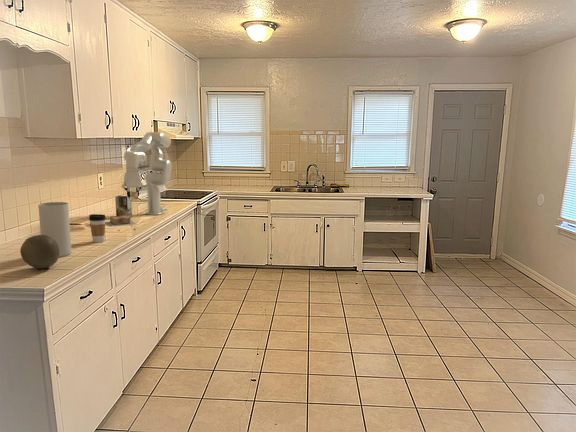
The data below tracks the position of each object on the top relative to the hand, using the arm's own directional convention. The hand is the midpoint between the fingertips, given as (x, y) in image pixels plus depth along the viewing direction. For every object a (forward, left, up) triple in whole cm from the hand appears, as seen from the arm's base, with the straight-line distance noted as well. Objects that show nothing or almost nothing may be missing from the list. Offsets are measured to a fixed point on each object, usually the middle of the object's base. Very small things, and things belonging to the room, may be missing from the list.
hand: (133, 196), depth 285 cm
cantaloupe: (+65, +86, -18) cm, 110 cm away
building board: (+11, +7, -18) cm, 22 cm away
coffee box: (+2, -16, -18) cm, 24 cm away
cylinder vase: (+56, +64, -18) cm, 87 cm away
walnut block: (+11, +7, -16) cm, 21 cm away
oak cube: (0, -1, -2) cm, 2 cm away
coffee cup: (+33, +46, -18) cm, 60 cm away
